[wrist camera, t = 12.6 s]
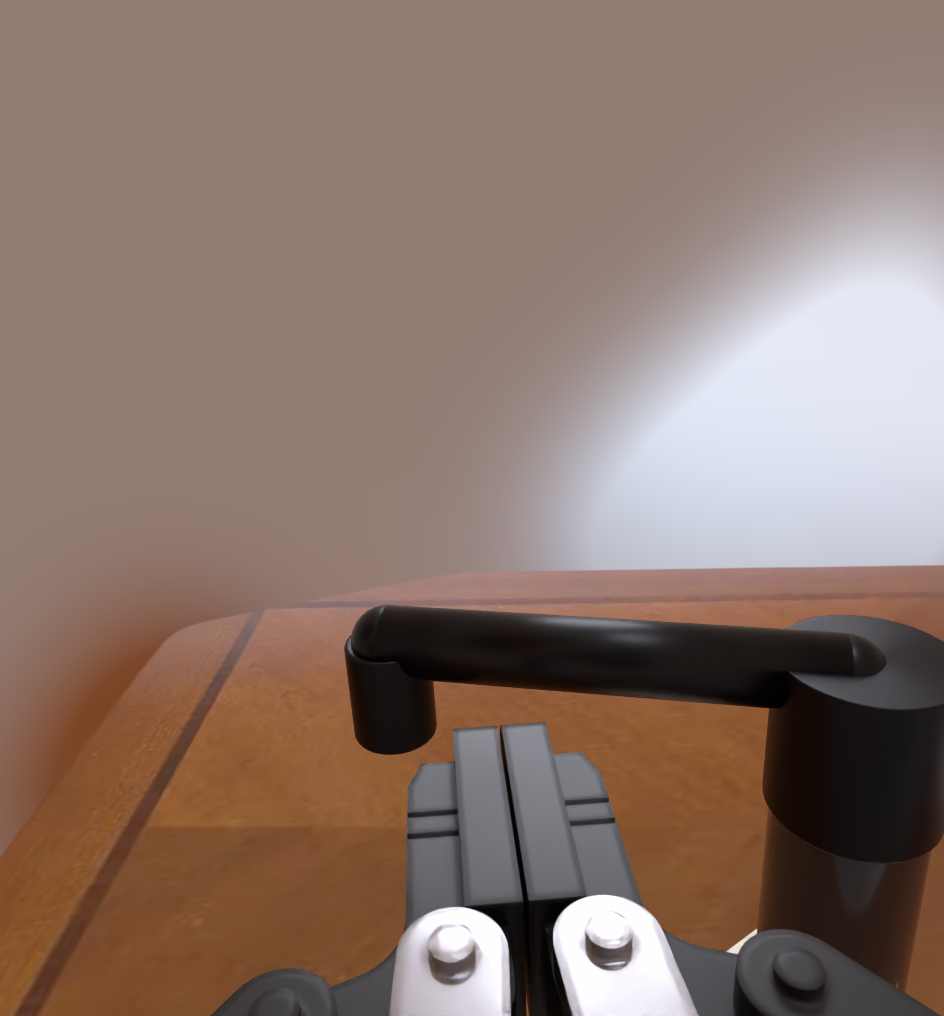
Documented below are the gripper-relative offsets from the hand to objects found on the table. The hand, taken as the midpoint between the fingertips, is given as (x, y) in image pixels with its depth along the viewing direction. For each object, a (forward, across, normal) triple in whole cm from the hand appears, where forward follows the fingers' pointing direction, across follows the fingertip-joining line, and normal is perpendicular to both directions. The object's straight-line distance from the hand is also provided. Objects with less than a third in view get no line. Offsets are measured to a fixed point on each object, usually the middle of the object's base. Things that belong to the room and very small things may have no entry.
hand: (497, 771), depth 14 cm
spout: (+8, -4, +7) cm, 11 cm away
